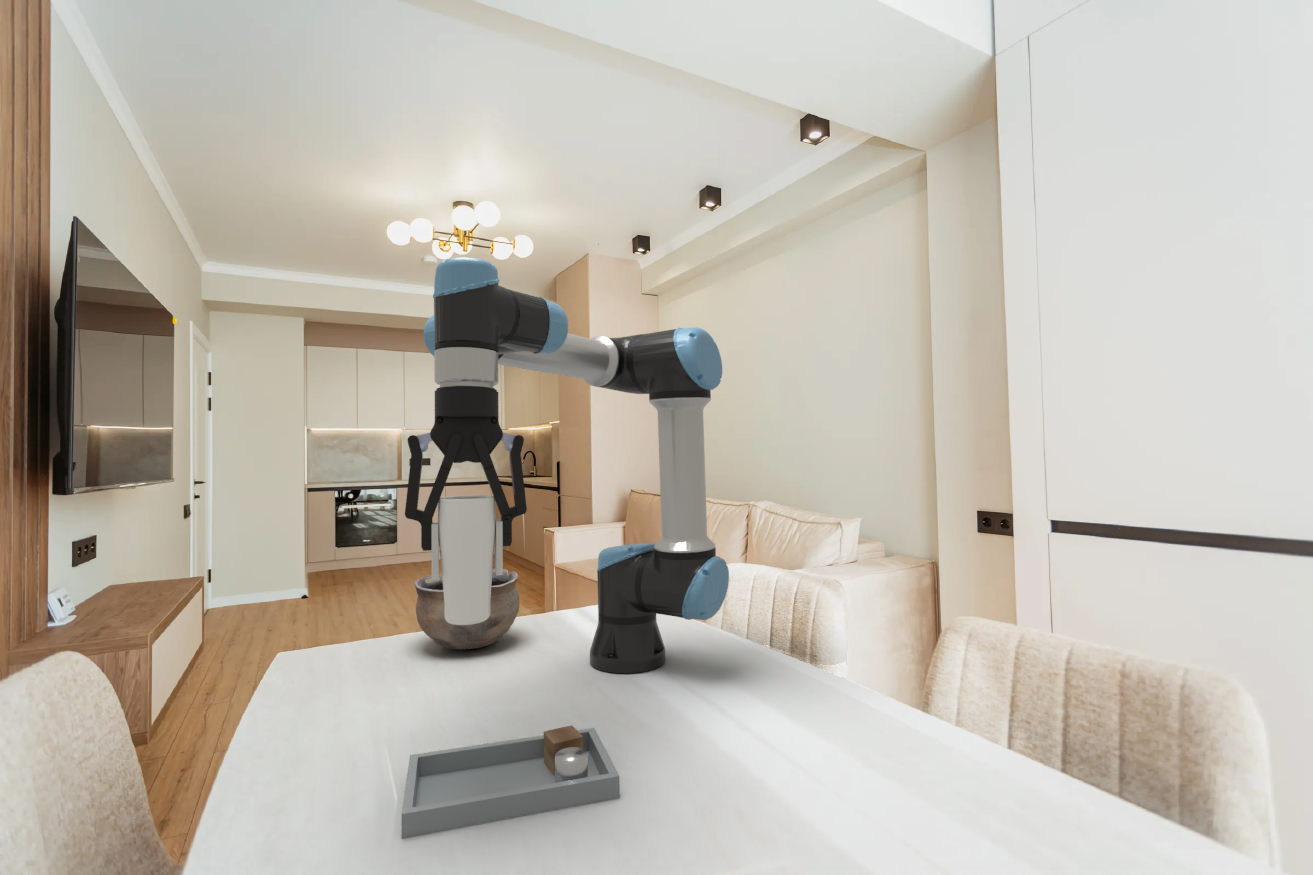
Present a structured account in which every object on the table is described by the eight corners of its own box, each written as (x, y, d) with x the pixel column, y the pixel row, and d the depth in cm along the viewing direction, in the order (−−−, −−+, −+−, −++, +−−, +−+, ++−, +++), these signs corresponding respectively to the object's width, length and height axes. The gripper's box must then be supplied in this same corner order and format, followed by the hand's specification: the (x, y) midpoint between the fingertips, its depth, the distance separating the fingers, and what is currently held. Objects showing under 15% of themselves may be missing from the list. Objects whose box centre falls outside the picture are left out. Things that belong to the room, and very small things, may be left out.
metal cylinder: (584, 777, 79) (584, 744, 79) (591, 793, 75) (590, 759, 75) (552, 782, 78) (552, 749, 78) (557, 799, 74) (557, 764, 74)
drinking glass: (480, 629, 72) (479, 499, 73) (426, 626, 74) (426, 499, 74) (505, 614, 79) (504, 495, 79) (456, 612, 80) (455, 495, 81)
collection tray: (594, 749, 87) (594, 727, 88) (619, 802, 74) (619, 775, 74) (410, 779, 80) (410, 754, 80) (401, 843, 67) (401, 813, 67)
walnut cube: (572, 754, 85) (572, 725, 85) (583, 767, 81) (583, 736, 81) (543, 762, 83) (543, 731, 83) (553, 775, 79) (553, 743, 80)
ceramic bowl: (538, 635, 144) (538, 570, 144) (482, 666, 123) (482, 589, 123) (457, 628, 151) (457, 565, 151) (391, 656, 130) (391, 583, 131)
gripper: (543, 391, 84) (544, 564, 83) (383, 388, 78) (383, 575, 77) (551, 385, 76) (553, 575, 76) (376, 381, 70) (376, 587, 70)
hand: (467, 574), depth 76 cm, fingers closed on drinking glass, 7 cm apart
